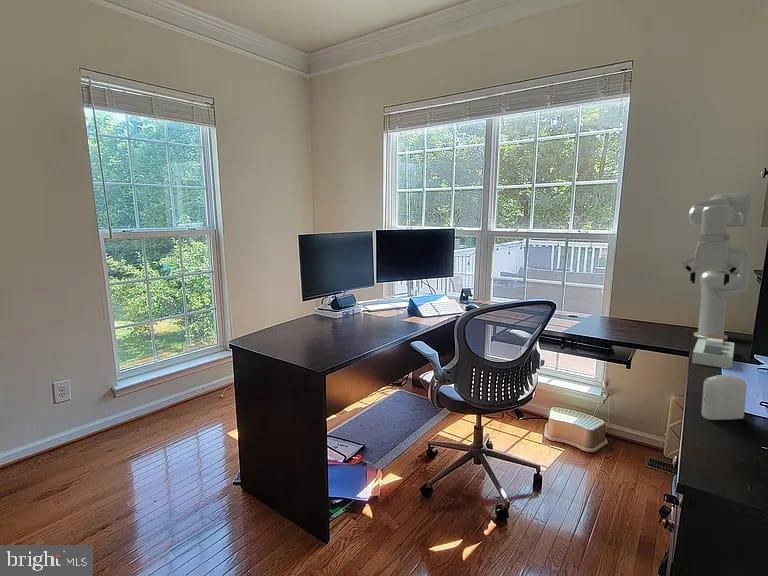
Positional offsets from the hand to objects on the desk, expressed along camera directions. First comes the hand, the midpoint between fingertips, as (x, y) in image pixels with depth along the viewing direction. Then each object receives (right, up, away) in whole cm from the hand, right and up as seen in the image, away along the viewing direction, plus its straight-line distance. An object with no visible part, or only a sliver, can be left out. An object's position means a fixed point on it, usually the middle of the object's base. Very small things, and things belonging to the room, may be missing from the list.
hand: (708, 283), depth 161 cm
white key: (+8, -26, +8) cm, 29 cm away
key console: (+8, -30, +9) cm, 32 cm away
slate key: (+3, -27, +2) cm, 28 cm away
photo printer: (-29, -39, -42) cm, 64 cm away
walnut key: (+14, -25, +14) cm, 32 cm away
